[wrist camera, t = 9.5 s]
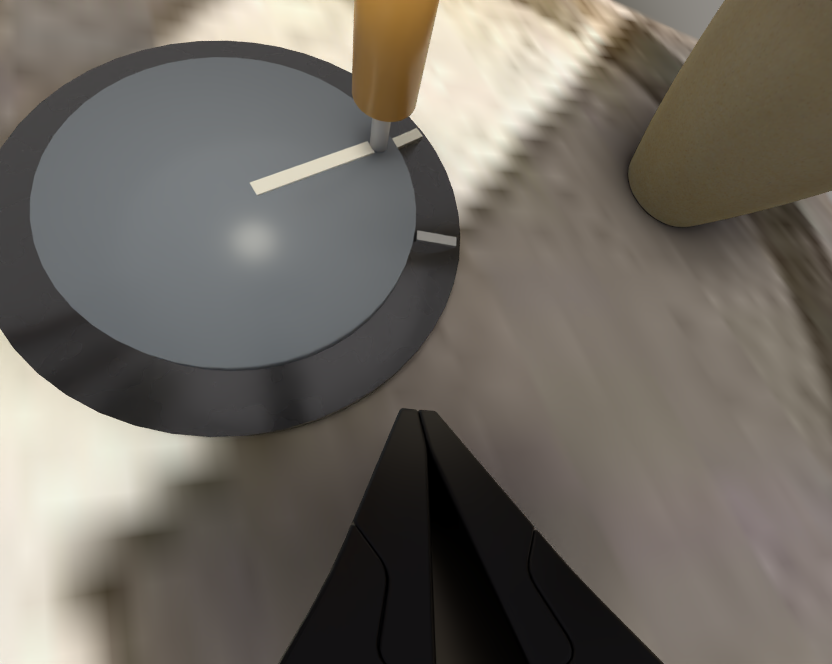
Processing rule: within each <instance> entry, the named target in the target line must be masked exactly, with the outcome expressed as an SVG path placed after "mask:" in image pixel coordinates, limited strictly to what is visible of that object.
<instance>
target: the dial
mask: <svg viewBox="0 0 832 664" xmlns="http://www.w3.org/2000/svg"><path fill="white" fill-rule="evenodd" d="M438 3H439V0H354V29H353V66H352V96H353V98H351V97H350V96H348V95H347V94H345V93H344V92H342V91H341V90H339V89H338V88H336V87H334V86H332V85H330V84H328V83H326V82H325V81H323V80H321V79H319V78H316V77H314V76H312V75H309V74H307V73H304V72H302V71H299V70H296V69H293V68H289V67H286V66H283V65H279V64H275V63H270V62H265V61H260V60H253V59H244V58H227V57H210V58H198V59H188V60H182V61H177V62H171V63H166V64H163V65H159V66H156V67H152V68H149V69H145V70H143V71H140V72H138V73H135V74H133V75H130V76H128V77H125V78H123V79H121V80H119V81H118V82H116V83H114V84H112V85H110V86H108V87H106V88H105V89H103V90H102V91H100V92H99V93H97V94H96V95H94V96H93V97H92V98H90V99H89V100H87V101H86V102H85V103H84V104H82V105H81V106H80V107H79V108H78V109H77V110H76V111H75V112H74V113H73V114H72V115H71V116H69V117H68V118H67V120H66V121H65V122H64V123H63V125H62V126H61V127H60V128H59V129H58V131H57V132H56V133H55V134H54V136H53V138H52V139H51V141H50V143H49V144H48V146H47V148H46V149H45V151H44V153H43V154H42V157H41V160H40V162H39V165H38V167H37V170H36V173H35V175H34V180H33V185H32V191H31V196H30V224H31V229H32V235H33V241H34V245H35V247H36V250H37V253H38V256H39V258H40V261H41V264H42V266H43V268H44V269H45V271H46V273H47V275H48V276H49V278H50V280H51V281H52V283H53V285H54V286H55V288H56V289H57V290H58V291H59V293H60V294H61V295H62V296H63V297H64V299H65V300H66V301H67V302H68V303H69V305H70V306H71V307H72V308H73V309H74V310H76V311H77V312H78V313H79V314H80V315H81V316H82V317H84V318H85V319H86V320H87V321H88V322H89V323H91V324H92V325H93V326H95V327H96V328H98V329H99V330H101V331H102V332H104V333H106V334H107V335H109V336H110V337H112V338H113V339H115V340H117V341H119V342H121V343H124V344H126V345H128V346H130V347H132V348H134V349H137V350H139V351H141V352H143V353H146V354H148V355H151V356H154V357H156V358H159V359H163V360H166V361H169V362H172V363H176V364H179V365H183V366H189V367H194V368H200V369H206V370H220V371H245V370H260V369H266V368H271V367H276V366H281V365H287V364H290V363H293V362H296V361H299V360H302V359H305V358H309V357H311V356H313V355H316V354H318V353H320V352H322V351H324V350H326V349H329V348H331V347H333V346H334V345H336V344H337V343H339V342H341V341H342V340H344V339H346V338H347V337H349V336H350V335H352V334H353V333H354V332H355V331H357V330H358V329H359V328H360V327H362V326H363V325H364V324H365V323H366V322H368V321H369V320H370V319H371V318H372V316H373V315H374V314H375V313H376V312H377V311H378V310H379V309H380V308H381V307H382V306H383V304H384V303H385V302H386V300H387V299H388V297H389V296H390V294H391V293H392V292H393V290H394V288H395V286H396V285H397V283H398V281H399V279H400V277H401V275H402V273H403V270H404V267H405V265H406V262H407V259H408V256H409V253H410V250H411V247H412V244H413V238H414V232H415V227H416V203H415V195H414V188H413V185H412V181H411V177H410V173H409V171H408V168H407V166H406V164H405V161H404V159H403V157H402V155H401V153H400V151H399V149H398V148H397V146H396V144H395V143H394V141H393V139H392V138H391V137H390V135H389V130H390V124H391V122H397V121H401V120H403V119H405V118H407V117H408V116H410V115H411V114H412V113H413V111H414V109H415V106H416V102H417V97H418V93H419V88H420V84H421V79H422V75H423V70H424V66H425V62H426V57H427V53H428V48H429V44H430V39H431V35H432V30H433V26H434V21H435V17H436V12H437V8H438Z"/></svg>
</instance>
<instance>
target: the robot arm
mask: <svg viewBox="0 0 832 664" xmlns="http://www.w3.org/2000/svg"><path fill="white" fill-rule="evenodd" d="M278 664H664V663H663V662H662V661H661V660H660V659H659V658H658V657H657V656H656V655H655V654H654V653H653V652H652V651H651V650H650V649H649V648H648V647H647V646H646V645H645V644H644V643H643V642H642V641H641V640H640V639H639V638H638V637H637V636H636V635H635V634H634V633H633V632H632V631H631V630H630V629H629V628H628V627H627V626H626V625H625V624H624V623H623V622H622V621H621V620H620V619H619V618H618V617H617V616H616V615H615V614H614V613H613V612H612V611H611V610H610V609H609V608H608V607H607V606H606V605H605V604H604V603H603V602H602V601H601V600H600V599H599V598H598V597H597V596H596V595H595V593H594V592H593V591H592V590H591V589H590V588H589V587H588V586H587V585H586V584H585V583H584V582H583V581H582V580H581V579H580V578H579V577H578V576H577V575H576V574H575V573H574V572H573V570H572V569H571V568H570V567H569V566H568V565H567V564H566V563H565V561H564V560H563V559H562V558H561V557H560V556H559V555H558V554H557V552H556V551H555V550H554V549H553V548H552V547H551V546H550V544H549V543H548V542H547V541H546V540H545V539H544V537H543V536H542V535H541V534H540V533H539V532H538V531H537V530H534V526H533V525H532V524H531V522H530V521H529V520H528V519H527V518H526V517H525V515H524V514H523V513H522V512H521V511H520V510H519V508H518V507H517V506H516V505H515V504H514V503H513V501H512V500H511V499H510V498H509V497H508V496H507V494H506V493H505V492H504V491H503V490H502V489H501V487H500V486H499V485H498V484H497V483H496V481H495V480H494V479H493V478H492V477H491V476H490V474H489V473H488V472H487V471H486V470H485V469H484V467H483V466H482V465H481V464H480V463H479V462H478V460H477V459H476V458H475V457H474V456H473V455H472V453H471V452H470V451H469V450H468V449H467V448H466V446H465V445H464V444H463V443H462V442H461V440H460V439H459V438H458V437H457V436H456V435H455V433H454V432H453V431H452V430H451V429H450V428H449V426H448V425H447V424H446V423H445V422H444V421H443V419H442V418H441V417H440V416H439V415H438V414H437V413H436V412H435V411H428V410H419V411H417V410H415V409H404V408H402V409H400V411H399V413H398V415H397V417H396V420H395V422H394V425H393V427H392V429H391V432H390V434H389V436H388V439H387V441H386V444H385V446H384V448H383V451H382V453H381V455H380V458H379V460H378V463H377V465H376V467H375V470H374V472H373V474H372V477H371V479H370V482H369V484H368V486H367V489H366V491H365V493H364V496H363V498H362V501H361V503H360V505H359V508H358V510H357V512H356V515H355V517H354V520H353V522H352V525H351V526H350V528H349V531H348V533H347V536H346V538H345V540H344V543H343V545H342V547H341V549H340V552H339V554H338V556H337V558H336V560H335V562H334V564H333V567H332V569H331V571H330V573H329V575H328V577H327V579H326V580H325V582H324V584H323V586H322V588H321V590H320V592H319V593H318V595H317V597H316V599H315V601H314V603H313V605H312V606H311V608H310V610H309V612H308V613H307V615H306V617H305V619H304V620H303V622H302V624H301V625H300V627H299V629H298V631H297V632H296V634H295V636H294V638H293V639H292V641H291V643H290V644H289V646H288V648H287V650H286V651H285V653H284V655H283V656H282V658H281V660H280V662H279V663H278Z"/></svg>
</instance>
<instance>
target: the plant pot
mask: <svg viewBox="0 0 832 664" xmlns="http://www.w3.org/2000/svg"><path fill="white" fill-rule="evenodd" d="M628 178H629V183H630V187H631V190H632V192H633V194H634V196H635V198H636V199H637V201H638V202H639V204H640V205H641V206H642V207H643V208H644V209H645V210H646V211H647V212H648V213H649V214H650V215H651V216H653V217H654V218H655V219H657V220H659V221H661V222H663V223H665V224H668V225H671V226H675V227H690V226H695V225H700V224H705V223H710V222H714V221H719V220H724V219H728V218H732V217H737V216H741V215H745V214H749V213H753V212H757V211H761V210H765V209H769V208H773V207H776V206H780V205H784V204H788V203H791V202H795V201H798V200H801V199H805V198H808V197H812V196H815V195H819V194H822V193H825V192H829V191H832V0H725V1H724V2H723V4H722V5H721V7H720V8H719V10H718V11H717V13H716V14H715V16H714V18H713V19H712V21H711V22H710V24H709V25H708V27H707V28H706V30H705V31H704V33H703V34H702V36H701V37H700V39H699V41H698V42H697V44H696V45H695V47H694V49H693V50H692V52H691V53H690V55H689V57H688V58H687V60H686V62H685V63H684V65H683V66H682V68H681V70H680V71H679V73H678V75H677V76H676V78H675V80H674V81H673V83H672V85H671V87H670V88H669V90H668V92H667V93H666V95H665V97H664V99H663V100H662V102H661V104H660V106H659V107H658V109H657V111H656V113H655V115H654V116H653V118H652V120H651V122H650V124H649V126H648V128H647V130H646V132H645V134H644V136H643V138H642V140H641V142H640V144H639V146H638V148H637V150H636V152H635V154H634V156H633V158H632V160H631V162H630V165H629V170H628Z"/></svg>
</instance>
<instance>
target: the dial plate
mask: <svg viewBox="0 0 832 664" xmlns="http://www.w3.org/2000/svg"><path fill="white" fill-rule="evenodd" d="M210 57H227V58H244V59H253V60H260V61H265V62H270V63H275V64H279V65H283V66H286V67H289V68H293V69H296V70H299V71H302V72H304V73H307V74H309V75H312V76H314V77H316V78H319V79H321V80H323V81H325V82H326V83H328V84H330V85H332V86H334V87H336V88H338V89H339V90H341V91H342V92H344V93H345V94H347V95H348V96H350V97H351V98H353V96H352V73H350V72H348V71H346V70H343V69H341V68H339V67H337V66H335V65H333V64H331V63H329V62H326V61H323V60H320V59H318V58H315V57H312V56H309V55H307V54H304V53H300V52H296V51H292V50H288V49H285V48H281V47H276V46H270V45H264V44H258V43H250V42H236V41H196V42H187V43H178V44H170V45H165V46H161V47H156V48H151V49H146V50H142V51H139V52H136V53H133V54H129V55H126V56H123V57H120V58H117V59H114V60H112V61H110V62H107V63H105V64H103V65H101V66H98V67H96V68H94V69H91V70H89V71H87V72H86V73H84V74H82V75H80V76H79V77H77V78H75V79H74V80H72V81H70V82H68V83H67V84H65V85H63V86H62V87H61V88H59V89H58V90H57V91H55V92H54V93H53V94H51V95H50V96H49V97H47V98H46V99H45V100H44V101H42V102H41V103H40V104H39V105H38V106H37V107H36V108H35V109H34V110H33V111H32V112H31V113H30V114H29V115H28V116H27V117H26V118H25V119H24V120H23V121H21V122H20V123H19V125H18V126H17V127H16V129H15V130H14V131H13V133H12V134H11V135H10V137H9V138H8V139H7V141H6V142H5V143H4V145H3V146H2V147H1V149H0V329H1V330H2V332H3V333H4V335H5V336H6V338H7V339H8V341H9V342H10V344H11V345H12V347H13V348H14V349H15V350H16V351H17V352H18V353H19V354H20V355H21V356H22V357H23V359H24V360H25V361H26V362H27V363H28V364H29V365H30V366H31V367H32V368H33V369H34V370H35V371H36V372H37V373H38V374H39V375H41V376H42V377H43V378H45V379H46V380H47V381H49V382H50V383H51V384H53V385H54V386H55V387H57V388H58V389H59V390H61V391H62V392H63V393H65V394H66V395H68V396H69V397H71V398H73V399H75V400H77V401H79V402H81V403H82V404H84V405H86V406H88V407H90V408H92V409H94V410H95V411H97V412H99V413H102V414H105V415H107V416H110V417H113V418H116V419H118V420H121V421H124V422H127V423H129V424H132V425H135V426H139V427H144V428H149V429H153V430H158V431H162V432H167V433H171V434H183V435H194V436H206V437H217V436H242V435H257V434H263V433H269V432H275V431H282V430H287V429H291V428H294V427H297V426H301V425H304V424H308V423H311V422H314V421H318V420H320V419H322V418H325V417H327V416H329V415H331V414H334V413H336V412H338V411H340V410H343V409H345V408H347V407H349V406H350V405H352V404H354V403H355V402H357V401H359V400H360V399H362V398H364V397H365V396H367V395H369V394H370V393H372V392H373V391H374V390H376V389H377V388H378V387H380V386H381V385H382V384H383V383H385V382H386V381H387V380H388V379H390V378H391V377H392V376H393V375H394V374H395V373H396V372H397V371H398V370H399V369H400V368H401V367H402V366H403V365H404V364H405V363H406V362H407V361H408V360H409V359H410V358H411V357H412V356H413V355H414V354H415V352H416V351H417V350H418V349H419V348H420V346H421V345H422V343H423V342H424V341H425V339H426V338H427V337H428V335H429V334H430V333H431V331H432V330H433V328H434V327H435V325H436V323H437V321H438V319H439V317H440V315H441V313H442V312H443V310H444V308H445V306H446V303H447V300H448V298H449V295H450V292H451V289H452V287H453V284H454V280H455V275H456V270H457V266H458V261H459V248H460V228H459V216H458V210H457V206H456V201H455V196H454V192H453V189H452V187H451V184H450V181H449V178H448V176H447V173H446V170H445V169H444V167H443V165H442V163H441V161H440V159H439V157H438V155H437V153H436V151H435V150H434V148H433V147H432V145H431V144H430V142H429V141H428V140H427V138H426V137H425V135H424V134H423V132H422V131H421V130H420V129H419V128H418V127H417V125H416V124H415V123H414V122H413V121H412V120H411V119H410V117H409V116H408V117H407V118H405V119H403V120H401V121H397V122H391V124H390V130H389V135H390V137H391V138H392V139H393V141H394V143H395V144H396V146H397V148H398V149H399V151H400V153H401V155H402V157H403V159H404V161H405V164H406V166H407V168H408V171H409V173H410V177H411V181H412V185H413V188H414V195H415V203H416V227H415V232H414V238H413V244H412V247H411V250H410V253H409V256H408V259H407V262H406V265H405V267H404V270H403V273H402V275H401V277H400V279H399V281H398V283H397V285H396V286H395V288H394V290H393V292H392V293H391V294H390V296H389V297H388V299H387V300H386V302H385V303H384V304H383V306H382V307H381V308H380V309H379V310H378V311H377V312H376V313H375V314H374V315H373V316H372V318H371V319H370V320H369V321H368V322H366V323H365V324H364V325H363V326H362V327H360V328H359V329H358V330H357V331H355V332H354V333H353V334H352V335H350V336H349V337H347V338H346V339H344V340H342V341H341V342H339V343H337V344H336V345H334V346H333V347H331V348H329V349H326V350H324V351H322V352H320V353H318V354H316V355H313V356H311V357H309V358H305V359H302V360H299V361H296V362H293V363H290V364H287V365H281V366H276V367H271V368H266V369H260V370H245V371H220V370H206V369H200V368H194V367H189V366H183V365H179V364H176V363H172V362H169V361H166V360H163V359H159V358H156V357H154V356H151V355H148V354H146V353H143V352H141V351H139V350H137V349H134V348H132V347H130V346H128V345H126V344H124V343H121V342H119V341H117V340H115V339H113V338H112V337H110V336H109V335H107V334H106V333H104V332H102V331H101V330H99V329H98V328H96V327H95V326H93V325H92V324H91V323H89V322H88V321H87V320H86V319H85V318H84V317H82V316H81V315H80V314H79V313H78V312H77V311H76V310H74V309H73V308H72V307H71V306H70V305H69V303H68V302H67V301H66V300H65V299H64V297H63V296H62V295H61V294H60V293H59V291H58V290H57V289H56V288H55V286H54V285H53V283H52V281H51V280H50V278H49V276H48V275H47V273H46V271H45V269H44V268H43V266H42V264H41V261H40V258H39V256H38V253H37V250H36V247H35V245H34V241H33V235H32V229H31V224H30V196H31V191H32V185H33V180H34V175H35V173H36V170H37V167H38V165H39V162H40V160H41V157H42V154H43V153H44V151H45V149H46V148H47V146H48V144H49V143H50V141H51V139H52V138H53V136H54V134H55V133H56V132H57V131H58V129H59V128H60V127H61V126H62V125H63V123H64V122H65V121H66V120H67V118H68V117H69V116H71V115H72V114H73V113H74V112H75V111H76V110H77V109H78V108H79V107H80V106H81V105H82V104H84V103H85V102H86V101H87V100H89V99H90V98H92V97H93V96H94V95H96V94H97V93H99V92H100V91H102V90H103V89H105V88H106V87H108V86H110V85H112V84H114V83H116V82H118V81H119V80H121V79H123V78H125V77H128V76H130V75H133V74H135V73H138V72H140V71H143V70H145V69H149V68H152V67H156V66H159V65H163V64H166V63H171V62H177V61H182V60H188V59H198V58H210Z"/></svg>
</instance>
